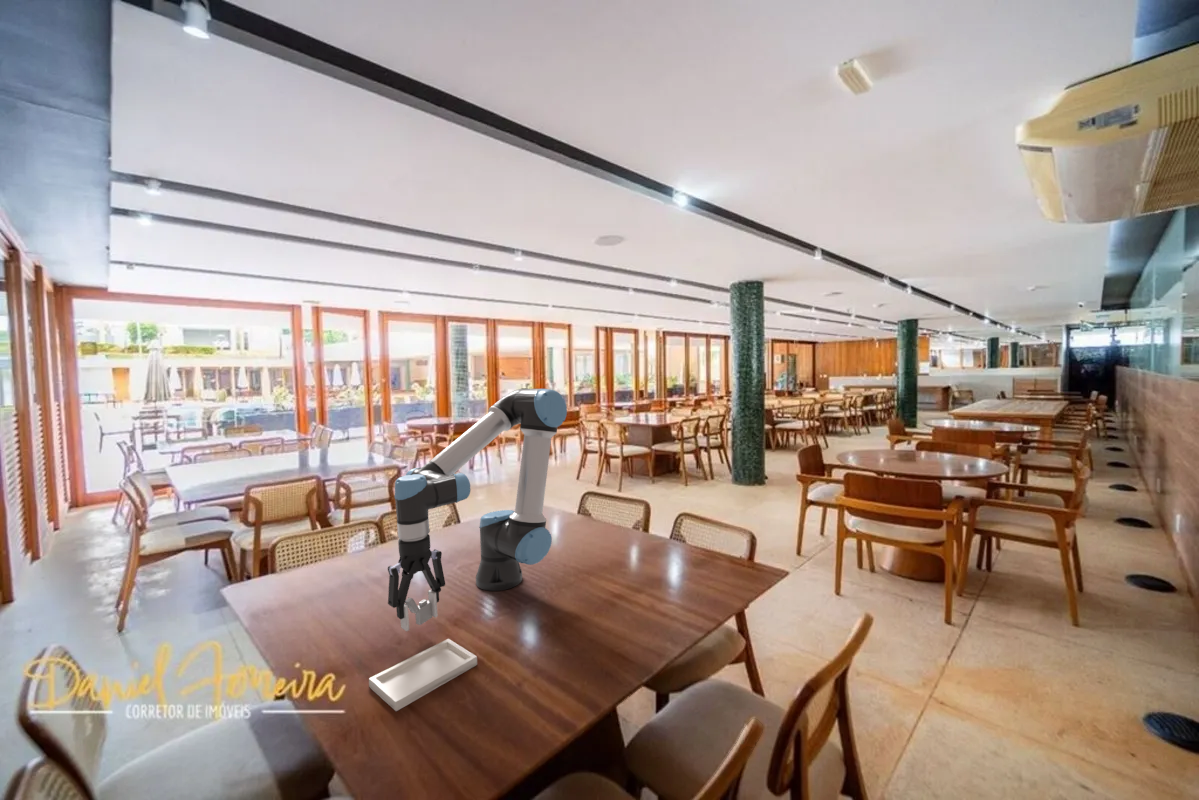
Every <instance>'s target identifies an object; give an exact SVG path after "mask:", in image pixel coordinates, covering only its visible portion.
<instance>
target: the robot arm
mask: <svg viewBox="0 0 1199 800" xmlns="http://www.w3.org/2000/svg"><path fill="white" fill-rule="evenodd" d="M567 408H568V407H567V403H566V401H565V399H564V398H563V395H562V394H561V393H560V392H558V391H557V390H554V389H548V388H525V387H524V388H518V389H516V390H512V391H511V392H509V393H507V394H506V395H505V396H503V397H502V398H501V399H499V400H498V401H496V402H495V403H494V404H493V405H491V406H490V407H489V408H488V410H487V412H488V413H487V414H485V415H484V416H483V417H481V418H480V419H479V420H478V421H477V422H475V423H474V424H473V425H472V426H471V427H470V428H468V429H467V430H466V431H464V432H463V433H462V434H461V435H459V437H457V438H456V439H455V440H454V441H452V442H451V443H450V444H449V445H447V446H446V447H445V448H444V449H442V450H441V451H440V452H439V453H438V454H436V455H435V456H434V457H433V458H431V460H430V461H428V462H427V463H425V464H424V465H423V466H422V467H414V468H412V469H410V470H409V471H407V472H406V474H405V475H403V476H399V477H398V478H397V479H396V480H395V482H394V500H395V509H396V510H395V511H396V512H395V513H396V526H397V527H396V528H397V538H398V541H397V542H398V543H397V544H398V554H399V559H398V562H397V563H396V564H394V565H389V566H387V572H388V575H389V576H388V577H389V578H388V579H389V580H388V594H387V595H388V596H387V597H388V600H387V604H388V605H389V606H390V607H392V608H393V609H395V608H396V616H397V618H398V619H399V620H400V628H401V629H402V630H404V631H405V632H408V631H410V620H409V619H410V618H409V608H408V605H406V603H405V601H406V600H407V598H408V597H407V596H408V593H409V589H410V586H411V582H412V580H413V578H414V575H415V574H417V573H418V572H421V573H422V574H423V576H424V578H425V580H426V582H427V584H428V586H429V588H430V589H429V590H427V595H428V599H427V600H428V601H431V607H432V618H433V617H434V618H437V617H438V603H439V602H440V592H441V591H442V588H443V587H445V586H446V580H445V576H444V575H445V574H444V570H443V564H442V555H443V553H442V551H440V550H439V549H435V548H434V549H433V550H431V538H430V537H431V535H430V531H431V530H430V523H429V522H430V521H429V510H433V509H436V508H440V507H444V506H447V505H451V504H455V503H458V502H461V501H465V500H467V499H468V498H469V496H470V494H471V490H472V489H471V482H470V479H469V477H468V476H467V475H466V474H465V473H462V472H459V473H456V472H458V471H459V470H460V469H461V468H462V467H464V466H465V465H466V464H467V463H468V462H469V461H471V460H472V459H473V457H475V456H476V455H477V454H478V453H480V452H481V451H482V450H483V449H484V448H486V447H487V446H488V445H489V444H490V443H491V442H492V441H493V440H494V439H496V438H498V436H499V435H500V434H501V433H503V432H504V431H505V432H508V431H510V430H511V429H512V428H513V427H514V426H517V425H520V426H519V427H520V428H519V429H520V431H521V432H522V433H523V442H522V452H521V460H520V466H519V467H520V468H519V476H518V483H517V492H516V499H515V505H514V506H515V507H514V508H515V509H514V510H513V509H512V510H509V509H504V510H503V509H502V510H496V511H491V512H488V513H485V514H483V515H482V516H481V517H480V520H479V526H478V527H479V539H480V562H479V565H478V569H477V572H476V575H475V585H476V587H478V588H479V589H481V590H484V591H489V592H490V591H491V592H495V591H496V592H497V591H505V590H509V589H512V588H515V587H516V586H518V585H519V584H521V582H522V581H523V570H522V568H521V565H520V564H525V565H529V566H531V565H536V564H538V563H540V562H541V561H543V559H544V558H545V557H546V556H547V555H548V554H549V551H550V549H551V546H552V543H553V542H552V539H553V537H552V534H551V533H550V531H549V530H548V529H547V528H546V527H547V526H546V525H547V518H546V517H545V515H544V514H543V512H544V511H543V509H544V502H545V495H546V494H545V492H546V486H547V485H546V484H547V479H548V477H547V476H548V468H549V459H550V452H551V445H552V438H553V437H554V436H555V435H556V434H558V427H560V426H562V425H563V422H565V421H566V417H567V416H568V415H567V414H568V409H567ZM430 560H431V562H432V568H433V572H434V574H433V572H432V570H431V567H430V564H429V562H430ZM401 569H402V572H401V579H400V570H401Z"/></svg>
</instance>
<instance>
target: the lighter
mask: <svg viewBox="0 0 1199 800" xmlns="http://www.w3.org/2000/svg"><path fill="white" fill-rule="evenodd" d="M405 604H406V605H408V611H410V612H411V613H413V614H415V625H419V626H421V625H423V624H424V623H426V622H427V621H429V620H431V619H432V618H433V616H432V607H431V601H429V600H428V599H422V600H420V601H419V602H418V605H417V603H416V601H415V599H414V598H412V597H407V598H406V601H405Z"/></svg>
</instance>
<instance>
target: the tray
mask: <svg viewBox="0 0 1199 800" xmlns="http://www.w3.org/2000/svg"><path fill="white" fill-rule="evenodd" d="M477 665H478V656H477V655H475V654H474V653H473V652H470V651H469V650H467V649H466V648H464V647H463V646H461V645H460V644H457V643H456V641H455V642H454V641H453V640H451V639H450V638H447V639H445V640H443V641H441V642H439V643H436V644H435V645H433V646H431V647H429V648H427V649H425V650H422V651H420V652H419V653H417V654H415V655H413V656H411V657H408V658H407V659H405V660H403V661H401V662H399V663H397V664H395V665H393V666H391V667H389V668H387V669H385V670H382V671H381V672H379V673H376V674H375V675H373V676H370V677H369V678H368V687H369V688H370V689H371V690H372V691H373V692H374V693H375V694H376V695H377V696H379V697H380V699H382V700H383V702H385V703H386V704H388V706H390V707H391V709H393V710H394V711H395V712H398V711H399V710H401V709H403V708H404V707H407V706H408V705H410V704H411V703H413V702H415V701H417V700H418V699H420V698H422V697H424V696H426V695H427V694H429V693H431V692H432V691H434V690H436V689H438V688H439V687H442V686H443V685H444V684H446V683H448V682H449V681H452V680H453V679H455V678H457V677H458V676H460V675H462V674H463V673H465V672H468V671H469V670H471V669H473V668H474V667H476V666H477Z"/></svg>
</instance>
